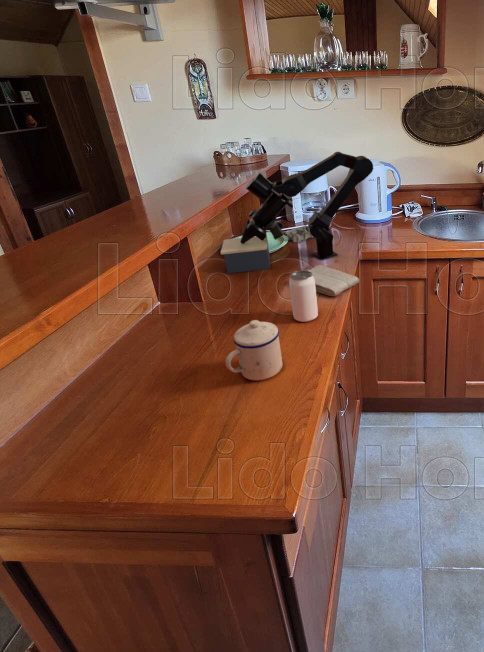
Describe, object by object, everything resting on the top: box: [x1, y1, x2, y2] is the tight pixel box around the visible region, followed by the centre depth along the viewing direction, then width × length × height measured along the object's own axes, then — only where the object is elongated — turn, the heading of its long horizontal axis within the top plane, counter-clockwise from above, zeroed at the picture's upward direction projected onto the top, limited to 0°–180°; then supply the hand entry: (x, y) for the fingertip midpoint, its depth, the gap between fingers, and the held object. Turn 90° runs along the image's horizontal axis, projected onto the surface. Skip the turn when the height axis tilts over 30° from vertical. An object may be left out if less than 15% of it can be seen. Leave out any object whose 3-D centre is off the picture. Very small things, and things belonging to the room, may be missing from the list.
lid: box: [220, 236, 268, 255], centre depth 142 cm, size 14×13×1 cm
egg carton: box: [285, 224, 314, 243], centre depth 167 cm, size 11×8×4 cm
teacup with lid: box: [225, 319, 283, 381], centre depth 87 cm, size 12×9×12 cm
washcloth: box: [307, 264, 360, 297], centre depth 128 cm, size 12×18×3 cm, turn 54°
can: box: [288, 270, 319, 323], centre depth 108 cm, size 6×6×12 cm
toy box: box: [223, 240, 271, 274], centre depth 143 cm, size 14×13×7 cm
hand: (241, 242), depth 141 cm, fingers closed, pressing on lid
